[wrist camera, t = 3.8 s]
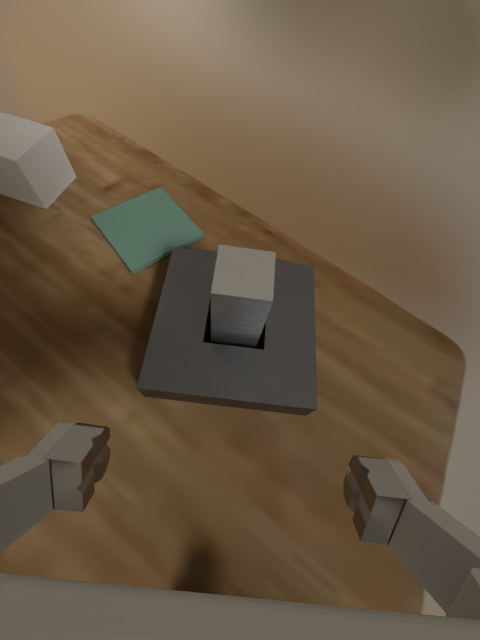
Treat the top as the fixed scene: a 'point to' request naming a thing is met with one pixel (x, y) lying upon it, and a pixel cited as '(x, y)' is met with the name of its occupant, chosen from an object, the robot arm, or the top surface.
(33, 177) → the plain white cube
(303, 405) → the socket block
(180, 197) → the top surface
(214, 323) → the steel bar
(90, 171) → the top surface
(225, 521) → the top surface
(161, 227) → the rubber mat
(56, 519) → the top surface
